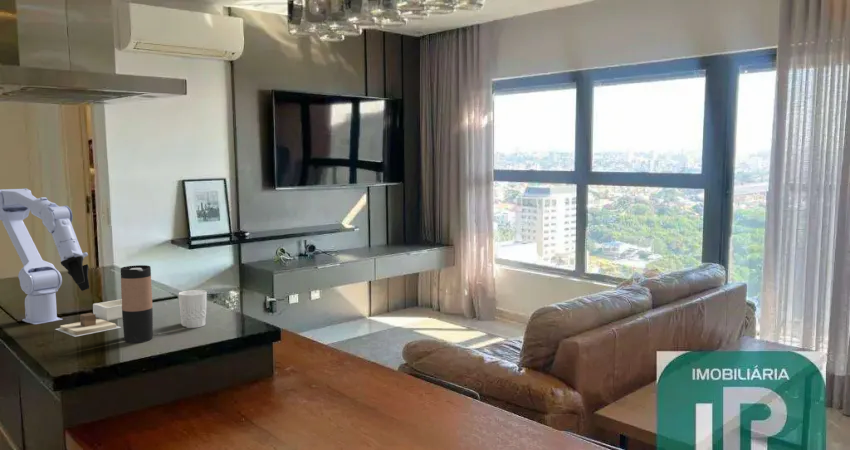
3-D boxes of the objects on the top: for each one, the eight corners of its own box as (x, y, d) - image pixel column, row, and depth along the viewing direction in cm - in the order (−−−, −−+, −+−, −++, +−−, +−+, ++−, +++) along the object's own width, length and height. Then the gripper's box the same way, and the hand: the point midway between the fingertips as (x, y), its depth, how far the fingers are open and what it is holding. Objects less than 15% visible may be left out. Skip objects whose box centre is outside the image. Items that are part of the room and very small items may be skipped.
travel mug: (129, 335, 178) (126, 265, 176) (157, 335, 179) (154, 265, 177) (118, 343, 171) (115, 269, 169) (148, 342, 171) (145, 269, 169)
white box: (93, 318, 199) (92, 303, 198) (122, 312, 206) (121, 299, 205) (107, 322, 193) (106, 307, 193) (136, 317, 200) (135, 302, 200)
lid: (60, 328, 184) (59, 315, 183) (98, 321, 192) (98, 308, 192) (77, 335, 177) (76, 321, 176) (116, 327, 185) (116, 314, 185)
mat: (54, 330, 183) (54, 329, 183) (100, 322, 194) (100, 320, 194) (75, 338, 175) (74, 336, 175) (121, 329, 186) (121, 327, 186)
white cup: (198, 329, 185) (197, 295, 184) (174, 328, 187) (172, 294, 186) (212, 322, 193) (211, 290, 192) (189, 321, 195) (188, 289, 194)
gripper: (77, 231, 180) (93, 274, 177) (86, 246, 192) (101, 287, 190) (50, 240, 177) (66, 283, 174) (61, 255, 190) (76, 296, 187)
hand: (83, 286), depth 182 cm, fingers open, 7 cm apart
